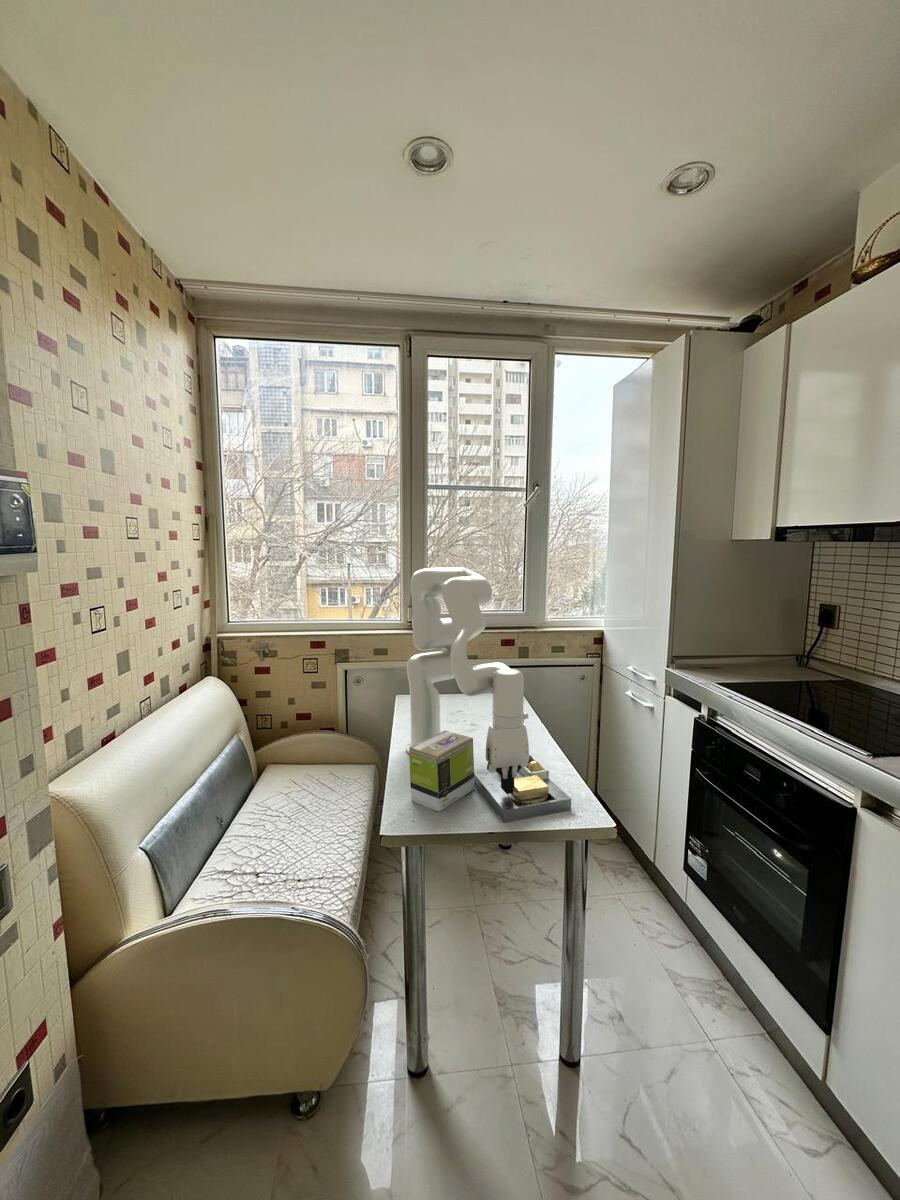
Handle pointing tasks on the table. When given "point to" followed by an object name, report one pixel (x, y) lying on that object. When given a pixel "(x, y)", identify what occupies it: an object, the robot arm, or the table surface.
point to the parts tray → (541, 774)
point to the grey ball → (530, 760)
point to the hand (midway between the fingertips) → (507, 791)
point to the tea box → (441, 769)
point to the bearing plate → (519, 809)
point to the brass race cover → (530, 787)
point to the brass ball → (534, 766)
